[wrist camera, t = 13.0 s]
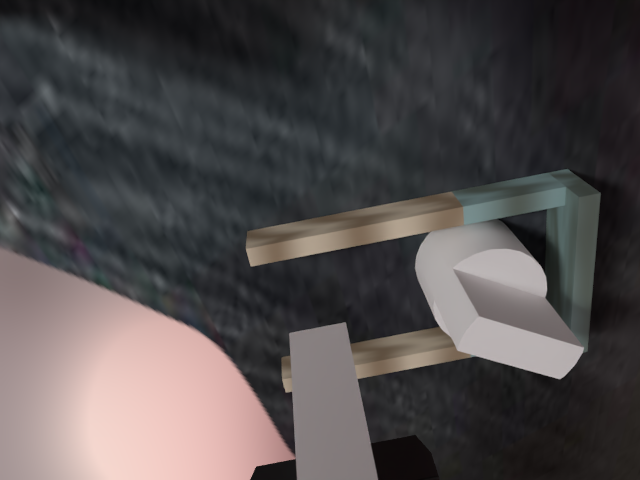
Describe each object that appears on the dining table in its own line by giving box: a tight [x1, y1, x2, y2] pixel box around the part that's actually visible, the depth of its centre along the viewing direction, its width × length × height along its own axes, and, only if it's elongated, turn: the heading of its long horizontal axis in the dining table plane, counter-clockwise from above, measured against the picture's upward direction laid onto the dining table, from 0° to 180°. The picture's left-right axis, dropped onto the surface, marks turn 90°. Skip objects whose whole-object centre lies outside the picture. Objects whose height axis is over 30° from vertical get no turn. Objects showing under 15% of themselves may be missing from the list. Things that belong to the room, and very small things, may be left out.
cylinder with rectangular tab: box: [415, 219, 584, 379], centre depth 42 cm, size 9×9×12 cm
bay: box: [246, 169, 601, 392], centre depth 45 cm, size 27×15×5 cm, turn 100°
